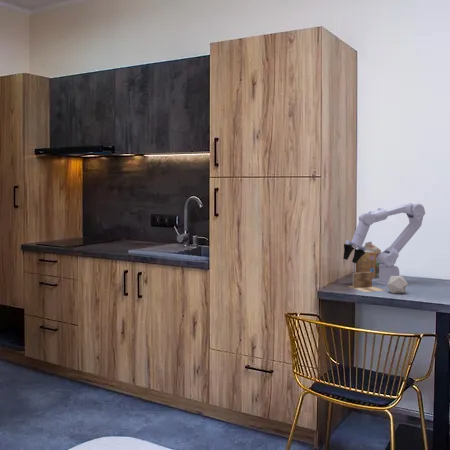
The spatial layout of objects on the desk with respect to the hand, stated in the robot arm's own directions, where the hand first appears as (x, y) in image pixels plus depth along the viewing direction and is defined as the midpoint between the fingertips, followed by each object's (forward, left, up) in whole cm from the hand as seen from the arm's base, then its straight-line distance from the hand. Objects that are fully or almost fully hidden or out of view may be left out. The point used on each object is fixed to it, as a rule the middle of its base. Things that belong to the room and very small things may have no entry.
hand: (349, 261), depth 271 cm
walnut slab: (-2, +9, -12) cm, 15 cm away
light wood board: (-2, +13, -12) cm, 18 cm away
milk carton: (-23, -19, -12) cm, 32 cm away
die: (-9, +27, -12) cm, 31 cm away
